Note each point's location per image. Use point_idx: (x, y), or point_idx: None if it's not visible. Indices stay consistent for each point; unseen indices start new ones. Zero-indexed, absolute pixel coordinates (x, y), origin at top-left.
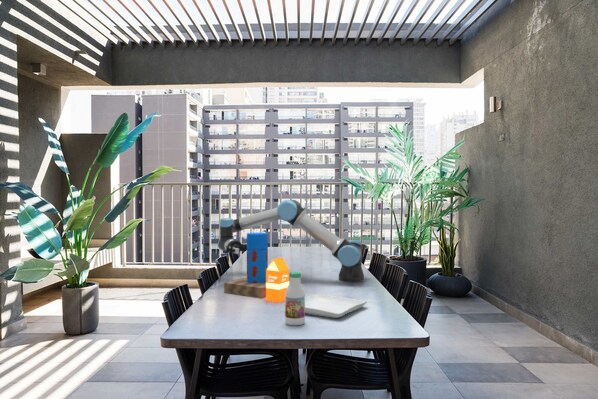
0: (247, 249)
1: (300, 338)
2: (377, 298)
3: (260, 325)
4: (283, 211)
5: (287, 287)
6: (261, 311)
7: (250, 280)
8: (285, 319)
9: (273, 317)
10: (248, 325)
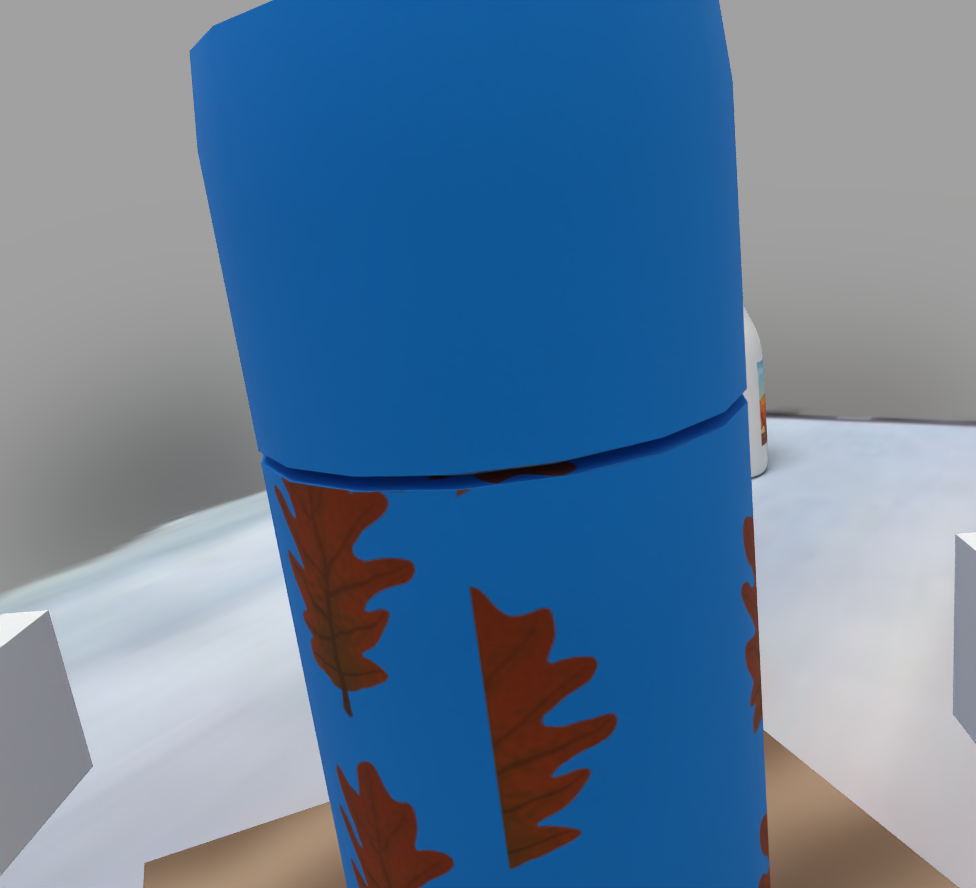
0: (743, 397)
1: (774, 418)
2: (98, 583)
3: (883, 472)
4: None
5: (750, 323)
6: (826, 565)
7: None
8: (767, 454)
9: (790, 510)
10: (941, 476)
